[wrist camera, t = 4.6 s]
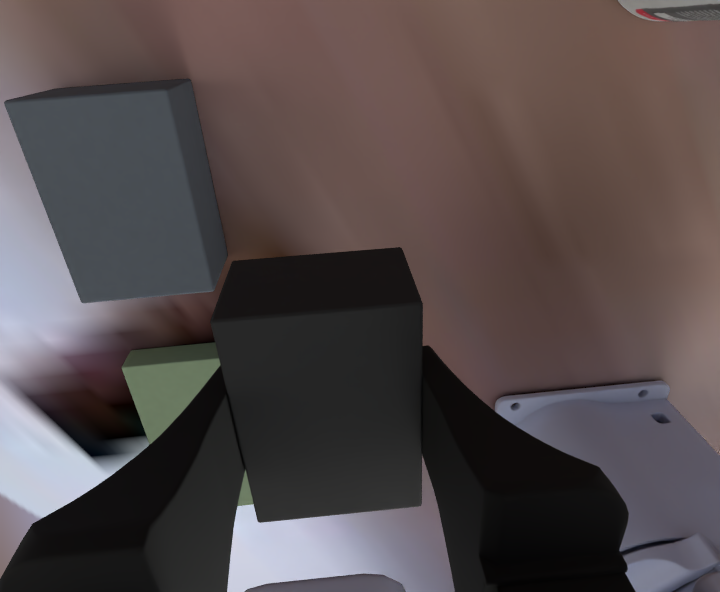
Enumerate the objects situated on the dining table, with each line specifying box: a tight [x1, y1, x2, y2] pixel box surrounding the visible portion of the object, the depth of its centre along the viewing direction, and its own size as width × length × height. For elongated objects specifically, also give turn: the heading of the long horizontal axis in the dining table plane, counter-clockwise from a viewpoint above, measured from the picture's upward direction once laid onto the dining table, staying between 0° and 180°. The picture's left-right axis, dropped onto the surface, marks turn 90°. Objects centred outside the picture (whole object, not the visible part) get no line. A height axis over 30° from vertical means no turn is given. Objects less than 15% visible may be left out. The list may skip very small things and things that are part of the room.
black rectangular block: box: [210, 247, 423, 523], centre depth 15 cm, size 5×7×3 cm
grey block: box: [4, 79, 228, 303], centre depth 18 cm, size 5×7×3 cm
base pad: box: [122, 342, 254, 506], centre depth 26 cm, size 10×10×1 cm
